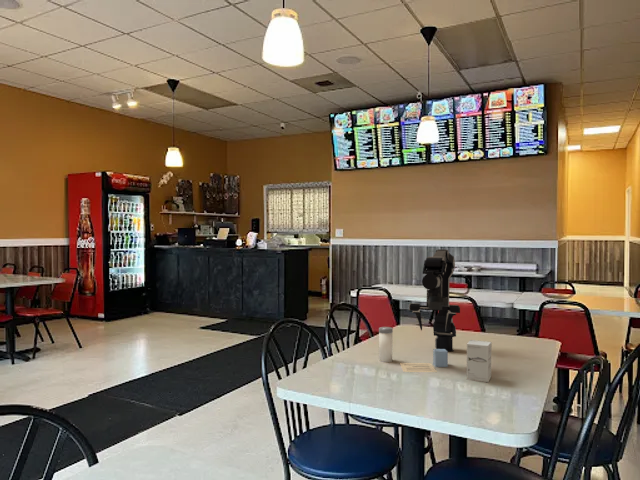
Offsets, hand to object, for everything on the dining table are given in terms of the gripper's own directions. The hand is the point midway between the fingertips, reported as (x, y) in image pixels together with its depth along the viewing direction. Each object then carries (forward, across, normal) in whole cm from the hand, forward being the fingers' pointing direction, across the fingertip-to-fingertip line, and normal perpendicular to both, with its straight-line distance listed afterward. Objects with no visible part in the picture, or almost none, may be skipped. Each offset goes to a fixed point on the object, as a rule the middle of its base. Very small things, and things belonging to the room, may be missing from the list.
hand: (433, 330), depth 186 cm
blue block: (+13, +3, +1) cm, 13 cm away
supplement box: (+15, +15, -14) cm, 25 cm away
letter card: (+14, -6, -3) cm, 15 cm away
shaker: (+13, -18, +6) cm, 23 cm away
